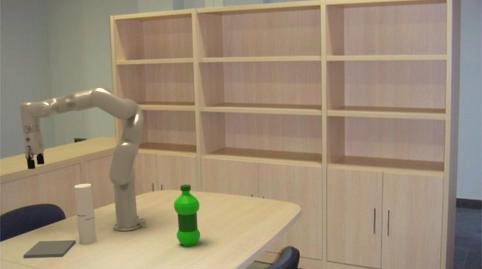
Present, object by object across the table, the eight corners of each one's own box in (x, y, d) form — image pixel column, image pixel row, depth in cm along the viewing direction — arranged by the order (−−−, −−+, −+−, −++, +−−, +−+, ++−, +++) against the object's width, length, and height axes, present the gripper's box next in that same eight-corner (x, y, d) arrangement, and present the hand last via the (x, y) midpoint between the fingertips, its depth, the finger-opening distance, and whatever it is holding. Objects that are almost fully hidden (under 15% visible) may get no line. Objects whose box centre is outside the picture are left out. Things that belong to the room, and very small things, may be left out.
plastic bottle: (178, 240, 228) (174, 183, 225) (202, 239, 228) (199, 182, 224) (174, 248, 218) (170, 189, 215) (200, 247, 218) (196, 188, 214)
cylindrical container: (81, 239, 235) (76, 184, 231) (97, 238, 235) (93, 183, 232) (77, 245, 228) (72, 188, 224) (94, 243, 228) (89, 187, 225)
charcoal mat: (75, 242, 231) (75, 240, 231) (62, 256, 215) (62, 253, 215) (39, 243, 231) (39, 241, 231) (23, 257, 216) (23, 255, 215)
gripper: (31, 131, 231) (36, 170, 233) (47, 126, 248) (52, 162, 251) (14, 132, 231) (19, 171, 234) (31, 127, 248) (36, 163, 251)
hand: (36, 166), depth 242 cm, fingers open, 9 cm apart
